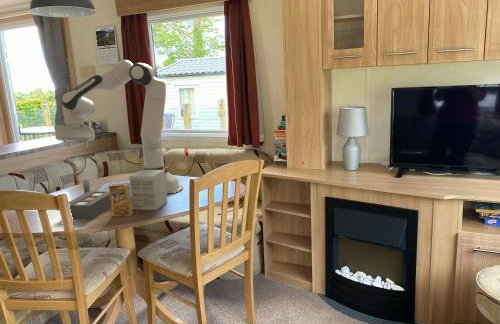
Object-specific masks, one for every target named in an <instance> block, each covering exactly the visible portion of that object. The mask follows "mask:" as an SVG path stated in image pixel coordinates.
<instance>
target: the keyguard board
mask: <svg viewBox="0 0 500 324" xmlns="http://www.w3.org/2000/svg"><path fill="white" fill-rule="evenodd" d="M95 193H103V194H101V195H100V196H91V195H93V194H95ZM88 197H96V198H94V199H93V200H84V199H86V198H88ZM68 202H69V204H70V209H71V213H72V217H73V219H72V220H77V221H78V220H80V221H81V220H83V221H85V220H87V221H92V220H94V219H95V218H97V217H98V216H100V215H101V214H103V213H104V212H106V211H107V210H110V209H111V200H110V192H109V191H92V190H90V191H89V192H87V193H83V194H82V195H80V196H78V197H76V198H73V199H72V200H70V201H68ZM78 202H87V203H86V204H84V205H75V204H77V203H78Z"/></svg>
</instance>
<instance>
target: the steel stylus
mask: <svg viewBox="0 0 500 324" xmlns="http://www.w3.org/2000/svg"><path fill="white" fill-rule="evenodd" d="M82 186H83V190H84V191H83V192H84V193H83V194H85V193H87V192H89V191H91V186H90V178H82Z"/></svg>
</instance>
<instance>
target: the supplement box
mask: <svg viewBox="0 0 500 324" xmlns="http://www.w3.org/2000/svg"><path fill="white" fill-rule="evenodd" d="M128 178H129V183H130V191H131V201H132V210H137V211H138V210H139V211H141V210H142V211H143V210H144V211H158V210H159V209H160V208H161V207H162V206H165V204H167V203H168V197H167V196H168V194H167V193H166V183H165V173H164V170H144V169H141V170H138V171H137V172H135V173H132V174H130V175H128Z"/></svg>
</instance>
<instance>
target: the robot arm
mask: <svg viewBox="0 0 500 324" xmlns="http://www.w3.org/2000/svg"><path fill="white" fill-rule="evenodd" d="M157 77H158V74H157V70H156V69H155V68H154V67H153V66H151V65H149V64H147V63H143V62H136V63H132V62H131V61H130V60H127V59H122V60H121V61H119V62H117V63H116V64H115V65H113V66H111V67H110V68H109V69H108V70H107V71H105V72H103V73H101V74H96V75H93V76H91V77H90V78H88V79H87V80H85V81H84V82H82V83H80V84H79V85H77V86H76V87H74V88H73V89H70V90H68V91H66V92H65V93H63V95H62V96H61V104H62V108H61V109H62V115H63V117H64V119H63V120H64V124H63V123H57V124H55V125H54V126H53V127H54V131H55V139H56V140H57V141H63V143H64V144H65V145H66V147H69V148H70V146H71V142H68V141H76V142H77V141H81V142H85V143H84V144H83V147H84V148H88V147H89V142H93V141H94V140H95V138H96V135H95V130H94V129H93V127H92V123H91V122H89V121H86V120H83V118H85V117H87V116H90V115H92V114H93V113H94V112H95V103H94V101H93V100H91V99H89V98H87V97H84V96H87V95H88V94H89V93H91V92H92V91H95V90H106V91H110V92H113V91H114V92H115V91H118V90H119V89H121V88H122V87H123V86H125V85H126V84H127V83H128V82H129V81H131V80H132V81H134V83H136V84H138V85H140V86H142V87H144V88H145V97H144V102H143V103H144V104H143V111H142V119H141V129H140V138H141V145H142V147H141V149H142V158H143V170H164V173H165V183H166V193H167V195H169V194H168V193H173V194H177V193H179V192H181V191H182V190H183V189H184V185H182V184H180V182H179V179H178V177H176V176H175V175H174V174H171V173H170V172H169V171H168V168H169V166H166V165H165V163H164V152H163V143H162V133H163V132H162V131H163V124H164V123H163V122H164V115H165V114H164V113H165V108H166V107H165V106H166V98H167V88H166V87H167V86H166V82H164V80H162V79H160V78H157ZM180 190H181V191H180ZM176 192H177V193H176Z"/></svg>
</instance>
